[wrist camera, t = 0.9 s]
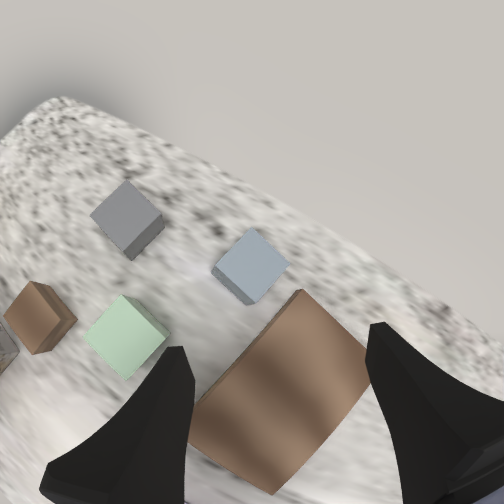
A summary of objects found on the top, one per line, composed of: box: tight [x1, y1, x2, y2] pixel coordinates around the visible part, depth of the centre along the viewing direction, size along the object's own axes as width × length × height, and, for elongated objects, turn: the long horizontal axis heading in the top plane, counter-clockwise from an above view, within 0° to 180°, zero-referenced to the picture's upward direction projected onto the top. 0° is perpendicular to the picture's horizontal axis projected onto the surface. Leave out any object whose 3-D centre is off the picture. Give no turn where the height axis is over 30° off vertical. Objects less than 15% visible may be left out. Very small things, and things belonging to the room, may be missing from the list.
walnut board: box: [188, 289, 370, 495], centre depth 24 cm, size 16×11×2 cm
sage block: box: [83, 294, 170, 381], centre depth 21 cm, size 4×4×6 cm
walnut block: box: [3, 281, 78, 355], centre depth 20 cm, size 4×4×4 cm
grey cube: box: [90, 180, 164, 261], centre depth 24 cm, size 4×4×4 cm
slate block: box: [211, 227, 290, 305], centre depth 25 cm, size 4×4×4 cm
